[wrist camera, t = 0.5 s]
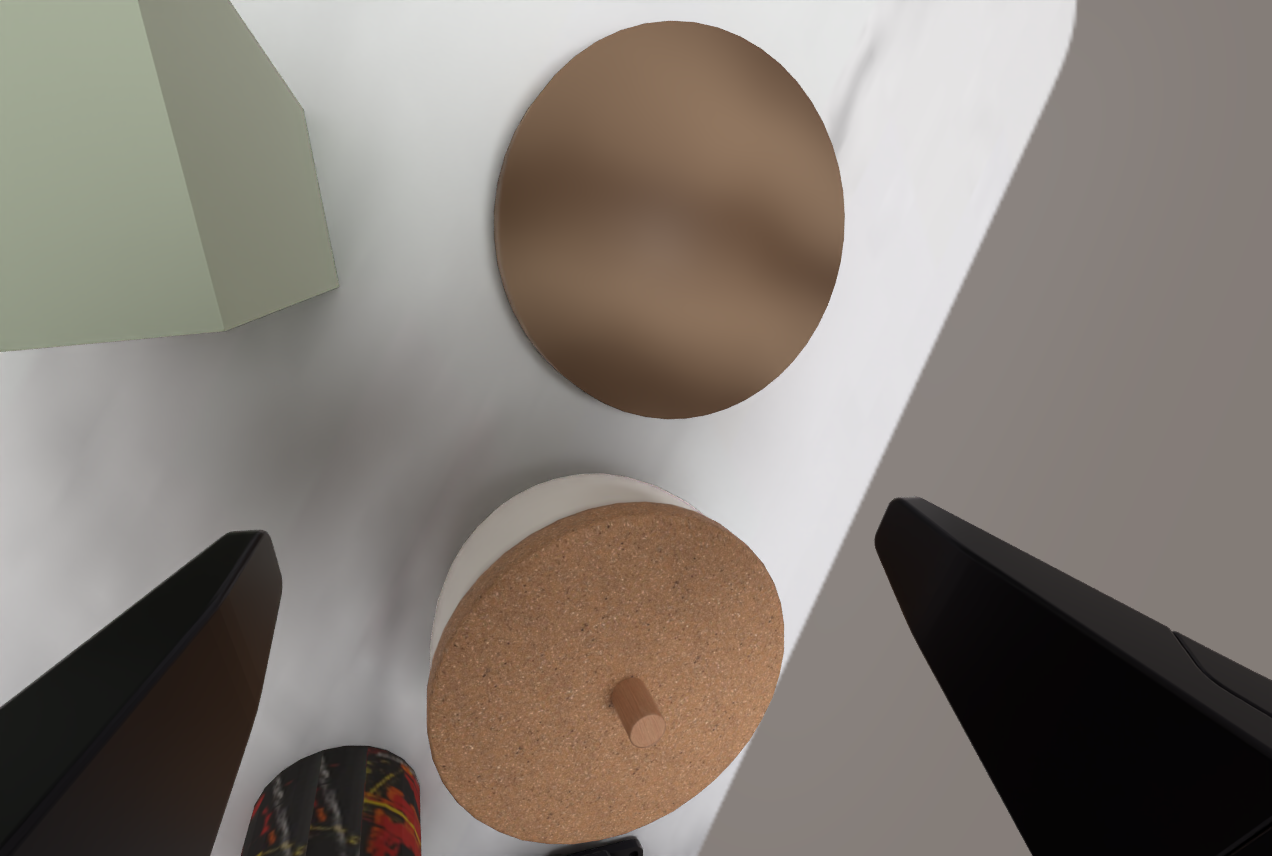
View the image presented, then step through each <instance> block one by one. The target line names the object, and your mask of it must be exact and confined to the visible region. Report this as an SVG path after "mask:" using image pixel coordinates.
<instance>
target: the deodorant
mask: <svg viewBox="0 0 1272 856" xmlns="http://www.w3.org/2000/svg"><path fill="white" fill-rule="evenodd" d="M241 856H421V825H420V788H419V783H418V780H417V778H416V775H415V773H414V770H413V769H412V768H411V767H410V766H409V765H408V764H407V763H406V762H405V761H404V760H403V759H402V758H400V757H398V756H396V755H394V754H393V753H391V752H389V751H387V750H382V749H378V748H374V747H369V746H344V747H339V748H334V749H329V750H324V751H321V752H318V753H316V754H313V755H311V756H308V757H306V758H304V759H301V760H299V761H298V762H296V763H295V764H293V765H292V766H290V767H289V768H287V769H286V770H284V771H282V772H281V773H280V774H279V775H278V776H277V777H276V778H275V779H274V780H273V781H272V782H271V783H270V784H269V785H268V786H267V787H266V788H265V789H264V791H263V792H262V794H261V796H260V797H259V799H258V801H257V802H256V804H255V806H254V810H253V813H252V817H251V820H250V824H249V828H248V831H247V835H246V838H245V842H244V846H243V849H242V853H241Z"/></svg>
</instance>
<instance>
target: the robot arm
mask: <svg viewBox="0 0 1272 856" xmlns="http://www.w3.org/2000/svg"><path fill="white" fill-rule="evenodd" d="M875 548H876V551H877V554H878V556H879V558H880V561H881V563H882V566H883V568H884V570H885V573H886V575H887V577H888V580H889V582H890V584H891V587H892V589H893V591H894V594H895V596H896V598H897V601H898V603H899V605H900V608H901V610H902V612H903V615H904V617H905V619H906V621H907V624H908V626H909V628H910V630H911V633H912V635H913V637H914V639H915V641H916V643H917V644H918V646H919V648H920V650H921V652H922V654H923V656H924V658H925V659H926V661H927V663H928V665H929V667H930V669H931V670H932V672H933V674H934V676H935V678H936V680H937V681H938V683H939V685H940V687H941V689H942V691H943V692H944V694H945V696H946V698H947V700H948V702H949V703H950V705H951V707H952V709H953V711H954V713H955V715H956V716H957V718H958V720H959V722H960V724H961V726H962V727H963V729H964V731H965V733H966V735H967V737H968V738H969V740H970V742H971V744H972V746H973V748H974V749H975V751H976V753H977V755H978V756H979V759H980V761H981V762H982V764H983V766H984V768H985V770H986V772H987V773H988V775H989V777H990V779H991V781H992V783H993V784H994V786H995V788H996V790H997V792H998V794H999V795H1000V797H1001V799H1002V801H1003V803H1004V805H1005V806H1006V808H1007V810H1008V812H1009V814H1010V815H1011V817H1012V819H1013V821H1014V823H1015V825H1016V827H1017V829H1018V830H1019V832H1020V834H1021V836H1022V838H1023V840H1024V841H1025V843H1026V845H1027V847H1028V848H1029V851H1030V852H1031V854H1032V856H1272V680H1270V679H1268V678H1266V677H1264V676H1262V675H1260V674H1258V673H1256V672H1254V671H1252V670H1250V669H1248V668H1246V667H1244V666H1242V665H1240V664H1238V663H1236V662H1235V661H1232V660H1231V659H1229V658H1227V657H1225V656H1223V655H1221V654H1219V653H1217V652H1215V651H1213V650H1211V649H1209V648H1207V647H1205V646H1203V645H1201V644H1199V643H1197V642H1196V641H1194V640H1192V639H1190V638H1188V637H1186V636H1184V635H1182V634H1180V633H1179V632H1176V631H1171V630H1170V628H1168V627H1167V626H1165V625H1163V624H1161V623H1159V622H1157V621H1155V620H1153V619H1152V618H1149V617H1148V616H1146V615H1144V614H1142V613H1140V612H1138V611H1136V610H1134V609H1132V608H1131V607H1128V606H1127V605H1125V604H1123V603H1121V602H1119V601H1117V600H1115V599H1113V598H1112V597H1110V596H1108V595H1106V594H1104V593H1102V592H1100V591H1098V590H1096V589H1094V588H1092V587H1090V586H1088V585H1087V584H1085V583H1083V582H1081V581H1079V580H1077V579H1075V578H1073V577H1071V576H1070V575H1068V574H1066V573H1064V572H1062V571H1060V570H1058V569H1056V568H1054V567H1052V566H1050V565H1049V564H1047V563H1045V562H1043V561H1041V560H1039V559H1037V558H1035V557H1033V556H1031V555H1029V554H1028V553H1026V552H1024V551H1022V550H1020V549H1018V548H1016V547H1014V546H1012V545H1010V544H1009V543H1007V542H1005V541H1003V540H1001V539H999V538H997V537H995V536H993V535H991V534H989V533H987V532H986V531H984V530H982V529H980V528H978V527H976V526H974V525H972V524H970V523H968V522H967V521H964V520H962V519H961V518H959V517H957V516H955V515H953V514H951V513H949V512H947V511H946V510H944V509H942V508H940V507H938V506H936V505H934V504H932V503H930V502H928V501H926V500H924V499H922V498H920V497H898V498H894V499H893V500H892V501H891V502H890V503H889V505H888V507H887V509H886V511H885V514H884V516H883V518H882V520H881V523H880V525H879V527H878V529H877V532H876V534H875ZM281 595H282V576H281V572H280V568H279V565H278V561H277V558H276V554H275V551H274V547H273V544H272V540H271V538H270V536H269V534H268V533H267V532H266V531H263V530H248V531H233V532H229V533H227V534H225V535H224V536H222V537H221V538H219V539H218V540H217V541H216V542H214V543H213V544H212V545H210V546H209V547H208V548H206V549H205V550H204V551H203V552H201V553H200V554H199V555H197V556H196V557H195V558H193V559H192V560H191V561H190V562H188V563H187V564H186V565H184V566H183V567H182V568H180V569H179V570H178V571H177V572H175V573H174V574H173V575H171V576H170V577H169V578H167V579H166V580H165V581H164V582H162V583H161V584H160V585H158V586H157V587H156V588H155V589H153V590H152V591H151V592H149V593H148V594H147V595H145V596H144V597H143V598H142V599H140V600H139V601H138V602H136V603H135V604H134V605H132V606H131V607H130V608H129V609H127V610H126V611H125V612H123V613H122V614H121V615H119V616H118V617H117V618H116V619H114V620H113V621H112V622H110V623H109V624H108V625H106V626H105V627H104V628H103V629H101V630H100V631H99V632H97V633H96V634H95V635H93V636H92V637H91V638H90V639H88V640H87V641H86V642H84V643H83V644H82V645H80V646H79V647H78V648H77V649H75V650H74V651H73V652H71V653H70V654H69V655H67V656H66V657H65V658H64V659H62V660H61V661H60V662H58V663H57V664H56V665H55V666H53V667H52V668H51V669H49V670H48V671H47V672H45V673H44V674H43V675H42V676H40V677H39V678H38V679H36V680H35V681H34V682H32V683H31V684H30V685H29V686H27V687H26V688H25V689H23V690H22V691H21V692H19V693H18V694H17V695H16V696H14V697H13V698H12V699H10V700H9V701H8V702H6V703H5V704H4V705H3V706H1V707H0V856H210V854H211V851H212V848H213V845H214V842H215V839H216V836H217V833H218V830H219V827H220V824H221V821H222V818H223V815H224V812H225V809H226V806H227V803H228V800H229V797H230V794H231V791H232V788H233V785H234V782H235V779H236V776H237V773H238V770H239V767H240V764H241V760H242V757H243V754H244V751H245V748H246V745H247V742H248V739H249V736H250V733H251V730H252V727H253V724H254V720H255V717H256V714H257V710H258V706H259V702H260V698H261V693H262V689H263V684H264V679H265V674H266V669H267V664H268V659H269V654H270V649H271V644H272V639H273V634H274V629H275V624H276V620H277V615H278V610H279V605H280V600H281ZM567 856H643V849H642V847H641V844H640V842H639V841H638V840H636V839H633V840H628V841H624V842H620V843H616V844H612V845H608V846H604V847H600V848H595V849H591V850H587V851H583V852H579V853H575V854H571V855H567Z"/></svg>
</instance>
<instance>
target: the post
mask: <svg viewBox="0 0 1272 856" xmlns="http://www.w3.org/2000/svg"><path fill="white" fill-rule="evenodd" d="M338 287H339V282H338V278H337V273H336V268H335V263H334V258H333V253H332V248H331V243H330V238H329V233H328V228H327V224H326V219H325V214H324V209H323V204H322V199H321V194H320V189H319V184H318V179H317V174H316V170H315V165H314V160H313V155H312V150H311V145H310V140H309V135H308V130H307V125H306V120H305V116H304V111H303V108H302V107H301V105H300V104H299V102H298V101H297V99H296V98H295V96H294V95H293V93H292V92H291V90H290V89H289V88H288V86H287V85H286V83H285V82H284V80H283V79H282V77H281V76H280V74H279V73H278V71H277V70H276V68H275V67H274V65H273V64H272V62H271V61H270V60H269V58H268V57H267V55H266V54H265V52H264V51H263V49H262V48H261V46H260V45H259V43H258V42H257V40H256V39H255V37H254V36H253V34H252V33H251V31H250V30H249V29H248V27H247V26H246V24H245V23H244V21H243V20H242V18H241V17H240V15H239V14H238V12H237V11H236V9H235V8H234V6H233V5H232V3H231V2H230V1H229V0H0V352H6V351H17V350H27V349H38V348H49V347H60V346H71V345H82V344H93V343H103V342H114V341H125V340H136V339H147V338H158V337H169V336H179V335H190V334H201V333H212V332H223V331H227V330H230V329H232V328H235V327H237V326H240V325H243V324H245V323H248V322H250V321H253V320H255V319H258V318H261V317H263V316H266V315H268V314H271V313H273V312H276V311H279V310H281V309H284V308H286V307H289V306H291V305H294V304H296V303H299V302H302V301H304V300H307V299H309V298H312V297H314V296H317V295H320V294H322V293H325V292H327V291H330V290H332V289H335V288H338Z"/></svg>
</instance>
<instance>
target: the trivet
mask: <svg viewBox="0 0 1272 856" xmlns="http://www.w3.org/2000/svg"><path fill="white" fill-rule="evenodd" d="M844 219H845V213H844V198H843V188H842V183H841V177H840V171H839V166H838V163H837V159H836V156H835V152H834V149H833V145H832V143H831V140H830V138H829V136H828V133H827V131H826V128H825V126H824V123H823V121H822V120H821V118H820V116H819V114H818V112H817V111H816V109H815V107H814V105H813V103H812V102H811V100H810V99H809V97H808V96H807V95H806V93H805V92H804V91H803V89H802V88H801V86H800V85H799V84H798V82H797V81H796V80H795V79H794V78H793V77H792V76H791V75H790V74H789V73H788V72H787V71H786V69H785V68H784V67H783V66H782V65H781V64H780V63H778V62H777V61H776V60H775V59H773V58H772V57H771V56H770V55H768V54H767V53H766V52H765V51H764V50H762V49H761V48H759V47H757V46H756V45H754V44H752V43H751V42H749V41H747V40H746V39H744V38H742V37H740V36H738V35H735V34H733V33H730V32H728V31H725V30H723V29H720V28H718V27H713V26H709V25H704V24H700V23H696V22H681V21H664V22H654V23H645V24H641V25H638V26H634V27H631V28H627V29H624V30H620V31H618V32H616V33H614V34H612V35H610V36H607V37H605V38H603V39H601V40H599V41H597V42H595V43H594V44H592V45H591V46H589V47H588V48H587V49H585V50H584V51H582V52H581V53H579V54H578V55H576V56H575V57H574V58H573V59H572V60H571V61H569V62H568V63H567V64H566V65H565V66H564V67H563V68H562V69H561V70H560V71H559V72H558V73H557V74H556V75H555V76H554V77H553V78H552V79H551V81H550V82H549V83H548V84H547V86H546V87H545V88H544V89H543V91H542V92H541V93H540V94H539V96H538V97H537V98H536V99H535V101H534V102H533V103H532V104H531V106H530V107H529V108H528V110H527V111H526V113H525V115H524V117H523V118H522V120H521V122H520V123H519V125H518V127H517V129H516V130H515V132H514V135H513V137H512V139H511V142H510V144H509V147H508V149H507V152H506V154H505V157H504V160H503V164H502V168H501V172H500V175H499V179H498V183H497V191H496V199H495V207H494V240H495V248H496V256H497V263H498V267H499V271H500V275H501V279H502V283H503V287H504V290H505V292H506V295H507V297H508V300H509V302H510V305H511V307H512V310H513V312H514V314H515V316H516V318H517V320H518V321H519V323H520V325H521V327H522V329H523V330H524V332H525V334H526V335H527V337H528V338H529V339H530V341H531V342H532V344H533V345H534V346H535V348H536V349H537V350H538V352H539V353H540V354H541V355H542V356H543V357H544V358H545V359H546V360H547V361H548V362H549V363H550V364H551V365H552V366H553V367H554V369H555V370H557V371H558V372H559V373H560V374H562V375H563V376H564V377H565V378H567V379H568V380H569V381H571V382H572V383H573V384H574V385H576V386H577V387H579V388H580V389H581V390H583V391H584V392H586V393H587V394H589V395H591V396H592V397H594V398H596V399H598V400H599V401H601V402H603V403H604V404H607V405H609V406H612V407H614V408H617V409H619V410H622V411H624V412H628V413H632V414H636V415H640V416H644V417H651V418H660V419H685V418H692V417H698V416H704V415H708V414H712V413H715V412H718V411H721V410H724V409H727V408H729V407H731V406H734V405H736V404H738V403H740V402H742V401H744V400H746V399H748V398H749V397H751V396H752V395H754V394H756V393H757V392H759V391H760V390H762V389H763V388H765V387H766V386H767V385H768V384H770V383H771V382H772V381H773V380H774V379H776V378H777V377H778V376H779V375H780V374H781V373H782V372H783V371H784V370H785V369H786V368H787V367H788V366H789V365H790V364H791V363H792V362H793V361H794V360H795V358H796V357H797V356H798V354H799V353H800V352H801V351H802V349H803V348H804V347H805V345H806V344H807V343H808V341H809V339H810V338H811V336H812V334H813V333H814V331H815V330H816V328H817V326H818V325H819V322H820V320H821V318H822V316H823V314H824V312H825V310H826V308H827V306H828V303H829V300H830V297H831V294H832V292H833V289H834V286H835V283H836V279H837V275H838V271H839V266H840V262H841V255H842V248H843V241H844Z"/></svg>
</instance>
